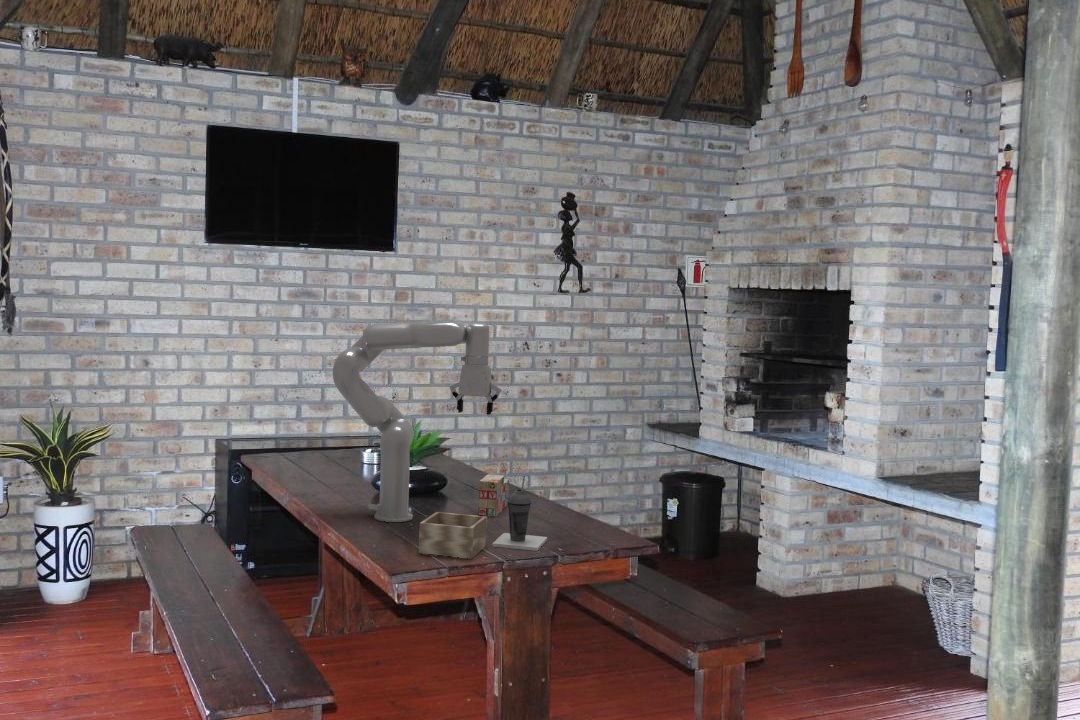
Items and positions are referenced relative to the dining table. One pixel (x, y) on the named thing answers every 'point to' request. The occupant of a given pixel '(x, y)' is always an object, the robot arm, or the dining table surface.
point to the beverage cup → (518, 513)
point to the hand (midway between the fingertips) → (474, 413)
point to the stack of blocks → (493, 495)
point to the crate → (453, 535)
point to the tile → (529, 543)
